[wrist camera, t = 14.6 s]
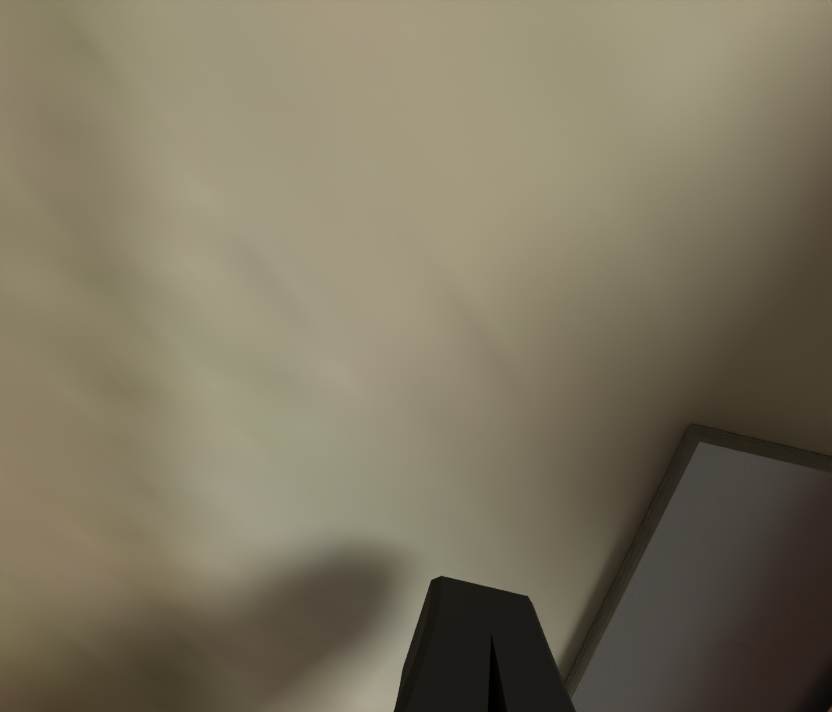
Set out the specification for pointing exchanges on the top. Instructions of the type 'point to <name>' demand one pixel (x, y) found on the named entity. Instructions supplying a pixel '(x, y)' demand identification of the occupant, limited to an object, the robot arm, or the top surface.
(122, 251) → the top surface
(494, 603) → the robot arm
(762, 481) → the vise bed
